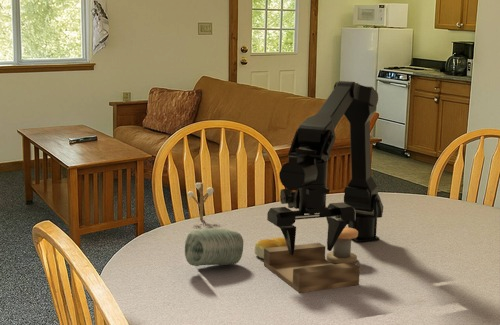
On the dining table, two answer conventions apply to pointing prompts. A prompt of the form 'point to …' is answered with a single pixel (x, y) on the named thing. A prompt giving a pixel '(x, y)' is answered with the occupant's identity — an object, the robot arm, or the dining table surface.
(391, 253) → the dining table surface
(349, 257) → the orange capped knob
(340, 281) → the notch board
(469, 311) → the dining table surface
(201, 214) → the cotton branch
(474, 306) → the dining table surface
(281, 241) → the bread roll
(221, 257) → the spool
